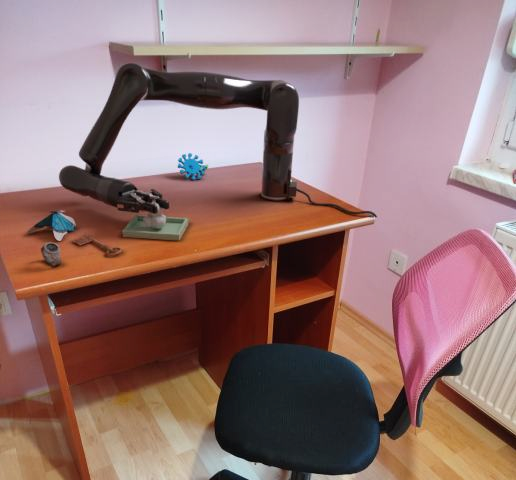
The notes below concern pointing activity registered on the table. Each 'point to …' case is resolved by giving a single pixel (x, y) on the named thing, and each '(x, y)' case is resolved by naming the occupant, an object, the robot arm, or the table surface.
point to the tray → (168, 232)
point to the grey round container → (51, 253)
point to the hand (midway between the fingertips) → (162, 207)
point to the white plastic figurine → (155, 218)
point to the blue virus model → (192, 166)
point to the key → (83, 239)
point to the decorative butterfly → (56, 224)
